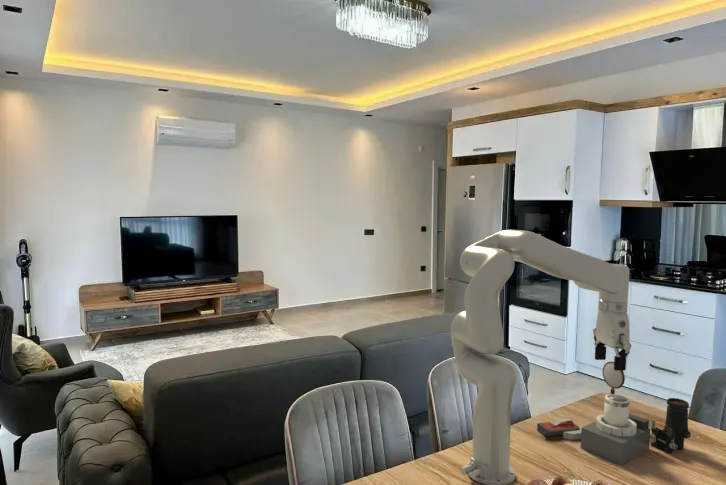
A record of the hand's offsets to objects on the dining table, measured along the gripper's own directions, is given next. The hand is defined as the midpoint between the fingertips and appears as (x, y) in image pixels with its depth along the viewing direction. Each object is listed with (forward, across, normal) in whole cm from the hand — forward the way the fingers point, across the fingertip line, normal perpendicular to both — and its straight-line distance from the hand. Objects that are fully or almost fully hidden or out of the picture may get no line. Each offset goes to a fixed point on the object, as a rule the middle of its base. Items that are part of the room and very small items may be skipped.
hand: (609, 364), depth 145 cm
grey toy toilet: (+25, -1, -2) cm, 25 cm away
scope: (+25, -2, -20) cm, 32 cm away
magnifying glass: (+25, +16, -12) cm, 32 cm away
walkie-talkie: (+25, +9, +6) cm, 28 cm away
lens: (+19, -1, -2) cm, 19 cm away
